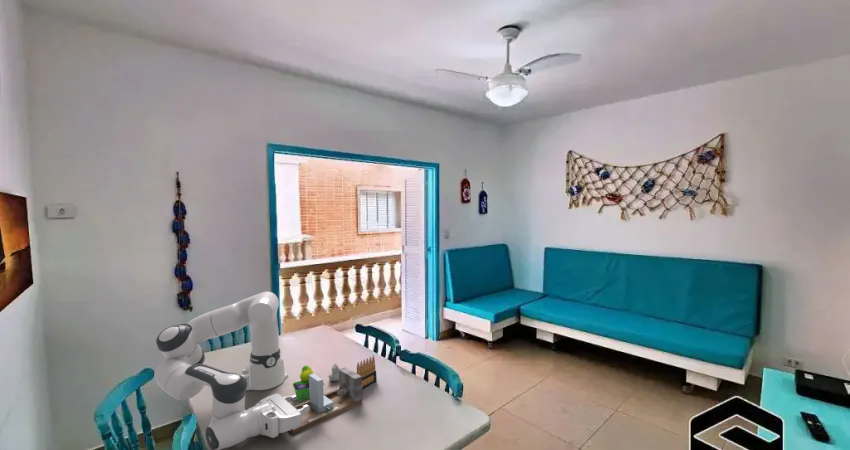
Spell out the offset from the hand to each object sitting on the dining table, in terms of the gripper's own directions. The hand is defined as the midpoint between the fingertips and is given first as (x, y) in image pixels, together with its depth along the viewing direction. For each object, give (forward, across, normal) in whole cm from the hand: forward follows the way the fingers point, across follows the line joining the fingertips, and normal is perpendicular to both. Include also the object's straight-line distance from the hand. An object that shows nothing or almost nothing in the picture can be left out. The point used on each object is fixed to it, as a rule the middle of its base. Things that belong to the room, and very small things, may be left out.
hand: (302, 402), depth 132 cm
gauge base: (+8, 0, -6) cm, 10 cm away
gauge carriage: (+7, +1, -5) cm, 9 cm away
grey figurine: (+24, -18, -7) cm, 31 cm away
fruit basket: (+10, -15, -7) cm, 19 cm away
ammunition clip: (+31, -4, -7) cm, 32 cm away
